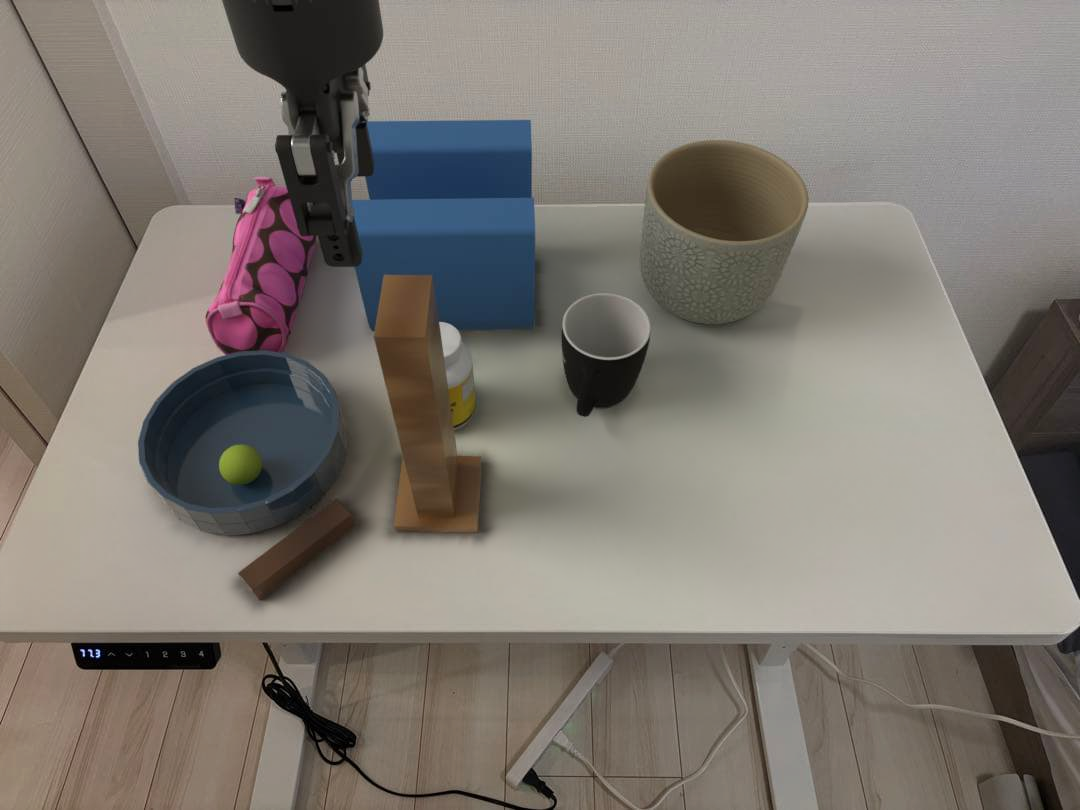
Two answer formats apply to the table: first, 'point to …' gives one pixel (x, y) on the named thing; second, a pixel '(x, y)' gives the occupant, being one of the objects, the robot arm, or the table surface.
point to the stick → (297, 549)
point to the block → (452, 218)
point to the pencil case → (261, 274)
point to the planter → (718, 228)
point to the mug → (603, 349)
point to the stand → (423, 412)
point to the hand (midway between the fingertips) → (352, 216)
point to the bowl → (244, 441)
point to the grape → (240, 464)
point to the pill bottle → (458, 375)
